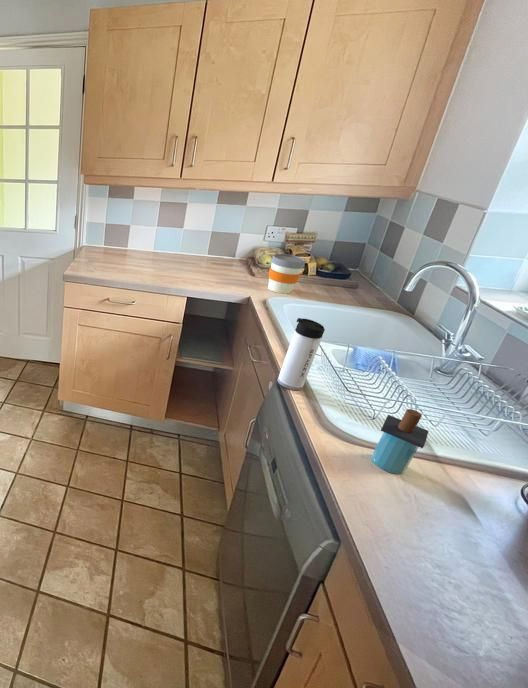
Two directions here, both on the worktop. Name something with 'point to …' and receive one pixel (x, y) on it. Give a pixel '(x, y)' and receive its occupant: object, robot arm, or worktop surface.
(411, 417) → the dark grey flat slab
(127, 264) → the worktop surface
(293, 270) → the reusable coffee cup
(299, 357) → the travel mug
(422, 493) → the worktop surface
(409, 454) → the cup
